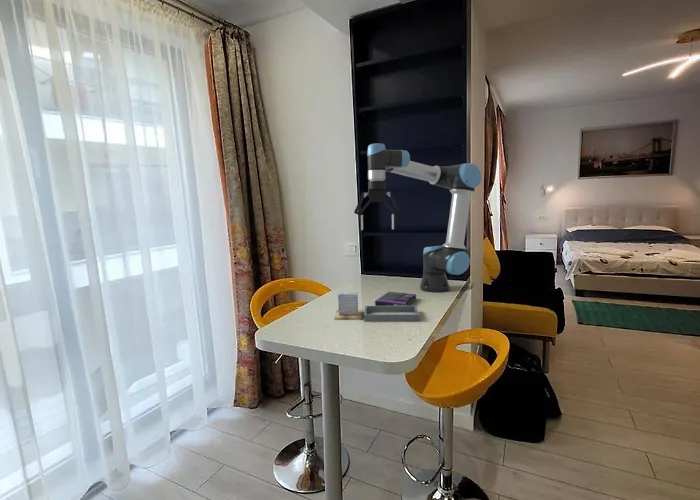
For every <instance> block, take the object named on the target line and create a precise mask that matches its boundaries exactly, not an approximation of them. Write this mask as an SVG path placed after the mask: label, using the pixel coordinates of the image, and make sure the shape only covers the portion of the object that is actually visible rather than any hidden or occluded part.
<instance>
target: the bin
mask: <svg viewBox="0 0 700 500" xmlns="http://www.w3.org/2000/svg"><path fill="white" fill-rule="evenodd" d="M364 306H365V307H364V314H363V315H364V317H363V318H364V319H363V320H364V322H420V313H419V310H418V307H417V305H410V306H375V305H364ZM400 312H401V314H399V313H400ZM371 313H372V314H371ZM373 313H375V314H373ZM376 313H378V314H376ZM381 313H385V314H381ZM389 313H391V314H389ZM392 313H393V314H392ZM394 313H395V314H394ZM402 313H403V314H402ZM405 313H406V314H405ZM410 313H411V314H410Z"/></svg>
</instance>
